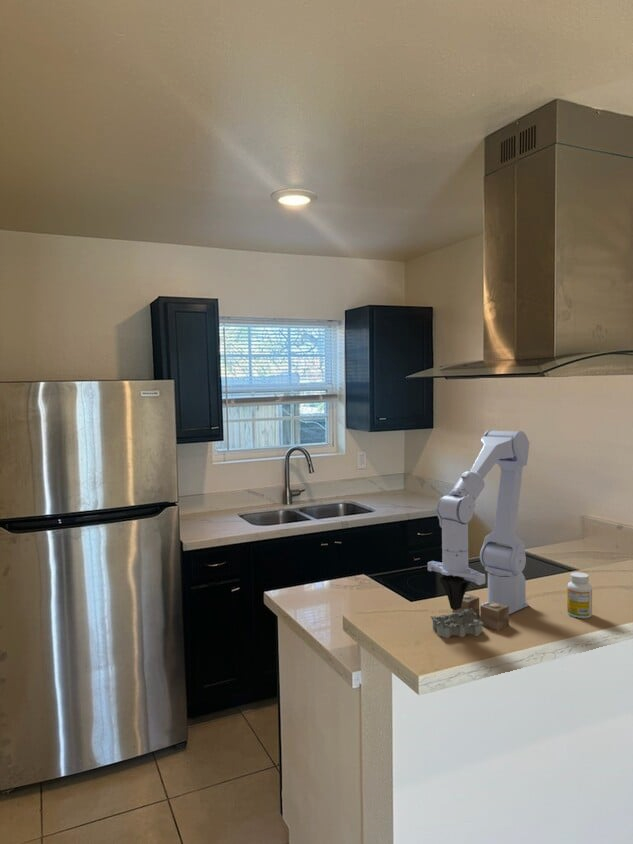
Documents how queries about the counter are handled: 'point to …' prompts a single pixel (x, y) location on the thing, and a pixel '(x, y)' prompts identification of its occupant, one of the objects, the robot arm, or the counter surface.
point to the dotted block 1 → (469, 603)
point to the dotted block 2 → (495, 615)
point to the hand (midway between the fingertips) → (455, 608)
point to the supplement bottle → (579, 596)
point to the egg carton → (458, 624)
